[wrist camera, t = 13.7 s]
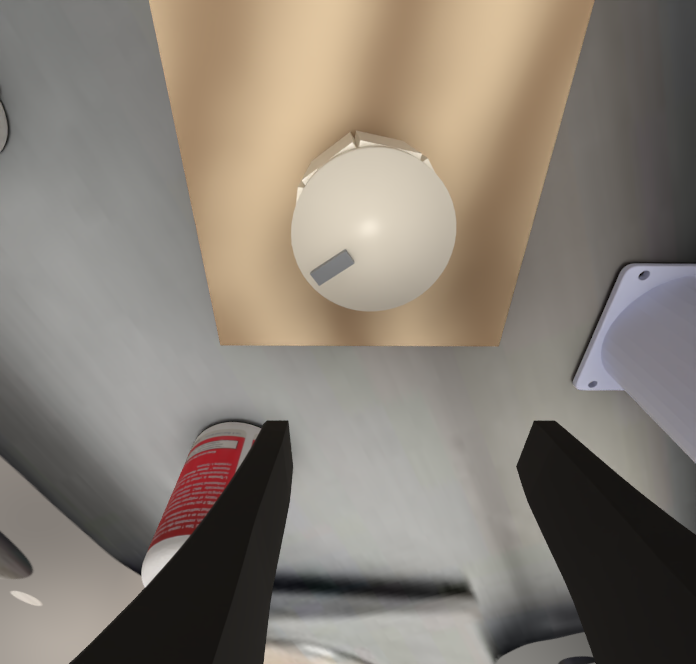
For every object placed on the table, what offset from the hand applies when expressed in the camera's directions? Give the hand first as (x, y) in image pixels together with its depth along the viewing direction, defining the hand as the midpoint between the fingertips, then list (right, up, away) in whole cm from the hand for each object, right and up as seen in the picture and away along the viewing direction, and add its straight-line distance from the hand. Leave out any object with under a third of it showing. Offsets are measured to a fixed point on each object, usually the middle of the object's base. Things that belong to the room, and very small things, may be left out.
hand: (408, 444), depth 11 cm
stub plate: (-1, +9, +6) cm, 11 cm away
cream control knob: (-1, +9, +5) cm, 10 cm away
